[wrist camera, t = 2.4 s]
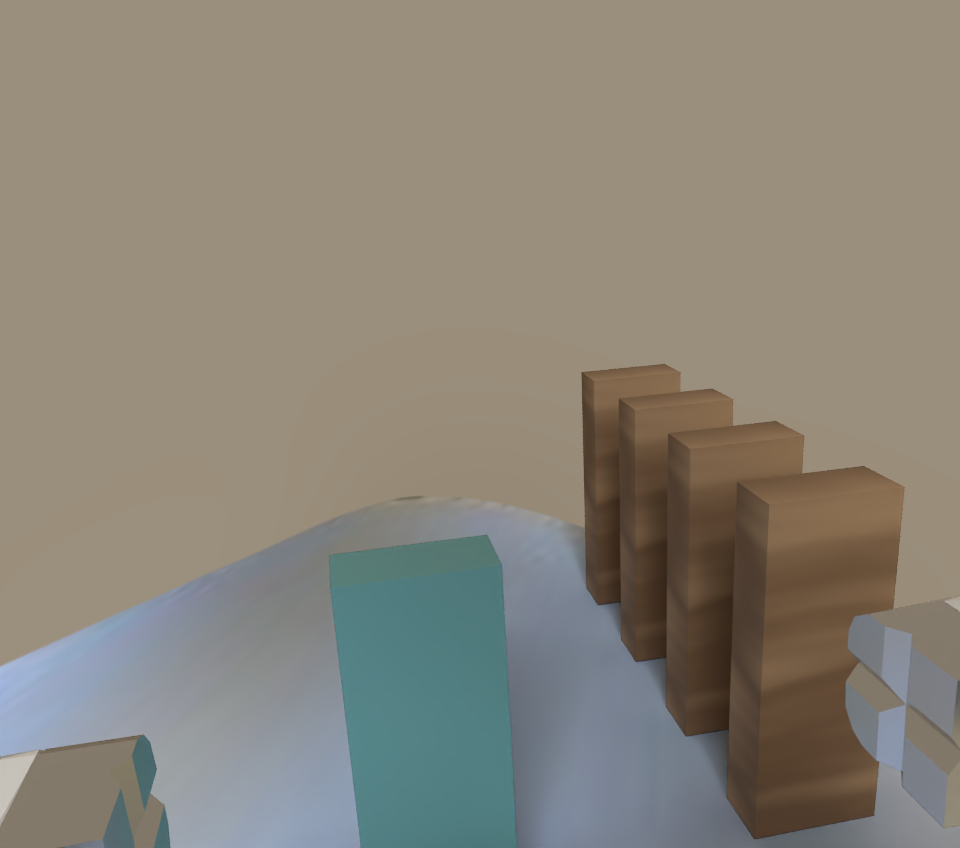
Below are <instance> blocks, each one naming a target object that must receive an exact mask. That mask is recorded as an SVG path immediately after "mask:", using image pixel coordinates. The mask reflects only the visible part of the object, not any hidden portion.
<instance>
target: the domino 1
mask: <svg viewBox="0 0 960 848" xmlns="http://www.w3.org/2000/svg"><path fill="white" fill-rule="evenodd" d="M329 557H330V590H331V598H332V606H333V615H334V623H335V632H336V640H337V649H338V657H339V665H340V674H341V682H342V691H343V699H344V708H345V716H346V725H347V733H348V741H349V750H350V758H351V767H352V775H353V784H354V792H355V800H356V809H357V817H358V826H359V834H360V843H361V848H517V837H516V819H515V800H514V782H513V763H512V745H511V726H510V708H509V689H508V671H507V652H506V634H505V615H504V597H503V578H502V565H501V562H500V560H499V558H498V556H497V554H496V552H495V550H494V548H493V546H492V544H491V542H490V540H489V538H488V536H487V535H482V536H474V537H466V538H458V539H451V540H443V541H435V542H427V543H419V544H412V545H404V546H396V547H388V548H380V549H373V550H365V551H357V552H349V553H342V554H334V555H329Z"/></svg>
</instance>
